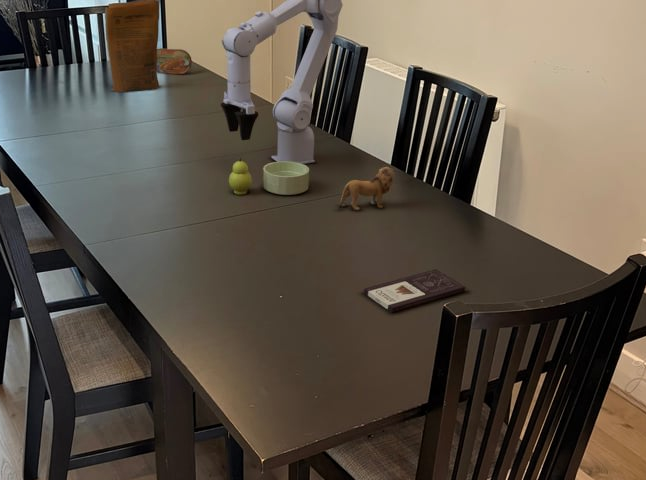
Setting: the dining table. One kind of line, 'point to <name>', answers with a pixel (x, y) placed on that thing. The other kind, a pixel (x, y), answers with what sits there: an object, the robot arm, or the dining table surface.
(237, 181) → the pear
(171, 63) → the tin
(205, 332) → the dining table surface
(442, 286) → the chocolate bar
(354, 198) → the lion figurine
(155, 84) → the pancake mix bag
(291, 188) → the bowl
